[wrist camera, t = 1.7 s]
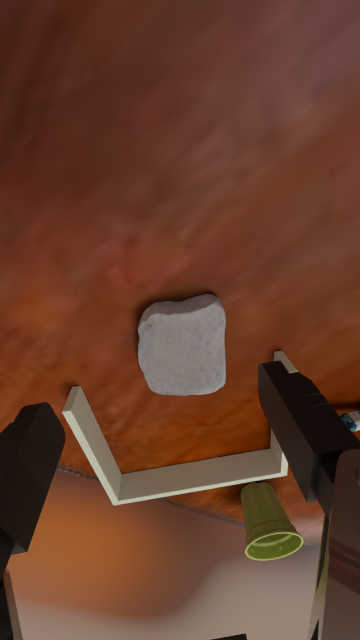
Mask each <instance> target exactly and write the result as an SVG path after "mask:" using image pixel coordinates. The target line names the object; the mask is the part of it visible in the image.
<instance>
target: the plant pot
mask: <svg viewBox="0 0 360 640" xmlns="http://www.w3.org/2000/svg"><path fill="white" fill-rule="evenodd" d="M241 502H242V509H243V516H244V523H245V530H246V539H245V540H246V546H245V554H246V555H247V556H248V557H249V558H251V559H254V560H273V559H278V558H282V557H285V556H288V555H290V554H292V553H293V552H295V551H297V550H298V549H299V548H300V547H301V546H302V544H303V538H302V536H301V535H300V534H299V533H297V531H296V529H295V527H294V526H293V525H292V524H291V522H290V520H289V518H288V516H287V515H286V513H285V511H284V509H283V507H282V505H281V503H280V501H279V499H278V497H277V495H276V493H275V491H274V489H273V487H272V486H271V484H269V483H267V482H263V481H262V482H261V483H256V482H253V483H250V484H248V485H246V486H245V487H243V488H242V490H241Z"/></svg>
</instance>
